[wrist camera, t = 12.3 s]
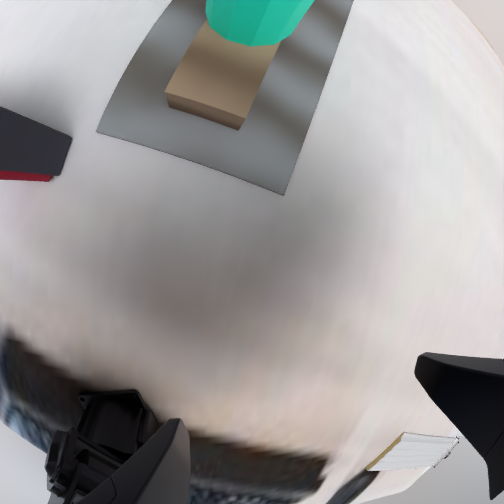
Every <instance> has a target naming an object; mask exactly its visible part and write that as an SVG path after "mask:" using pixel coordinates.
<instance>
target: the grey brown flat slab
mask: <svg viewBox="0 0 504 504" xmlns="http://www.w3.org/2000/svg"><path fill="white" fill-rule="evenodd" d="M353 1H354V0H314V2H313V3H312V5H311V6H310V7H309V9H308V10H307V12H306V13H305V14H304V16H303V17H302V19H301V20H300V22H299V23H298V25H297V26H296V28H295V29H294V31H293V32H292V34H291V35H290V36H288V37H286V38H285V39H283V40H281V41H280V42H278V43H276V44H275V45H262V46H247V45H244V44H240V43H236V42H232V41H228V40H226V39H225V38H223V37H222V36H221V35H220V34H218V33H217V32H216V31H214V30H213V29H212V28H210V26H209V22H208V19H207V16H206V12H205V10H206V0H172V2H171V3H170V4H169V5H168V7H167V8H166V9H165V11H164V12H163V13H162V15H161V16H160V17H159V19H158V20H157V21H156V23H155V24H154V26H153V27H152V28H151V30H150V31H149V33H148V34H147V36H146V37H145V39H144V40H143V42H142V43H141V45H140V47H139V48H138V50H137V51H136V53H135V55H134V56H133V58H132V60H131V61H130V63H129V65H128V66H127V68H126V70H125V72H124V74H123V75H122V77H121V79H120V81H119V83H118V85H117V87H116V89H115V91H114V93H113V95H112V97H111V99H110V101H109V103H108V105H107V107H106V109H105V111H104V114H103V116H102V118H101V120H100V123H99V125H98V127H97V130H96V132H97V133H101V134H105V135H108V136H112V137H116V138H119V139H123V140H126V141H130V142H133V143H136V144H140V145H143V146H146V147H150V148H153V149H156V150H159V151H163V152H166V153H169V154H172V155H175V156H178V157H181V158H184V159H187V160H190V161H193V162H196V163H199V164H202V165H204V166H207V167H210V168H213V169H216V170H218V171H221V172H224V173H227V174H229V175H232V176H235V177H237V178H240V179H243V180H245V181H248V182H251V183H253V184H256V185H258V186H261V187H263V188H266V189H268V190H271V191H273V192H276V193H278V194H281V195H284V194H285V191H286V189H287V186H288V183H289V181H290V178H291V175H292V172H293V170H294V167H295V164H296V162H297V159H298V156H299V153H300V151H301V148H302V145H303V142H304V140H305V137H306V134H307V131H308V129H309V126H310V123H311V120H312V118H313V115H314V112H315V109H316V106H317V104H318V101H319V98H320V95H321V93H322V90H323V87H324V84H325V81H326V78H327V76H328V73H329V70H330V67H331V64H332V61H333V59H334V56H335V53H336V50H337V47H338V44H339V42H340V39H341V36H342V33H343V30H344V27H345V24H346V21H347V18H348V15H349V13H350V10H351V7H352V4H353Z"/></svg>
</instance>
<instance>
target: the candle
mask: <svg viewBox="0 0 504 504" xmlns="http://www.w3.org/2000/svg"><path fill="white" fill-rule="evenodd" d="M313 2H314V0H206V10H205V12H206V16H207V19H208V22H209V26H210V28H212V29H213V30H214V31H216V32H217V33H218V34H220V35H221V36H222V37H223V38H225V39H226V40H228V41H232V42H236V43H240V44H244V45H247V46H262V45H275V44H276V43H278V42H280V41H281V40H283V39H285V38H286V37H288V36H290V35H291V34H292V32H293V31H294V29H295V28H296V26H297V25H298V23H299V22H300V20H301V19H302V17H303V16H304V14H305V13H306V12H307V10H308V9H309V7H310V6H311V5H312V3H313Z"/></svg>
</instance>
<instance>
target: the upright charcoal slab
mask: <svg viewBox="0 0 504 504" xmlns="http://www.w3.org/2000/svg"><path fill="white" fill-rule="evenodd" d="M71 139H72V138H71V137H70V136H68V135H66V134H64V133H61V132H59V131H57V130H55V129H52V128H50V127H48V126H45V125H43V124H41V123H39V122H36V121H34V120H31V119H29V118H27V117H24V116H22V115H20V114H17V113H15V112H12V111H10V110H8V109H5V108H3V107H0V180H25V181H44V182H49V181H50V178H51V175H54V176H58V175H59V174H60V171H61V168H62V165H63V162H64V159H65V156H66V153H67V150H68V147H69V145H70V142H71Z"/></svg>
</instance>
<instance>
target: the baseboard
mask: <svg viewBox="0 0 504 504" xmlns="http://www.w3.org/2000/svg"><path fill="white" fill-rule="evenodd" d="M456 438H457V436H456ZM456 438H450V437H439V436H429V435H421V434H414V433H407V432H403V433H402V434H401V435H400V436H399V437H398V438H397V439H396V440H395V441H394V442H393V443H392V444H391V445H390V446H389V447H388V448H387V449H386V450H385V451H384V452H383V453H382V454H380V455H379V456H378V457H377V458H376V459H375V460H374V461H373V462H372V463H370V464H369V465H368V466H367V467H366V469H367V471H381V470H398V469H410V468H419V467H427V466H433V464H435V463H436V462H437V461H438V460H439V458H440V457H441V456H443V455H444V453H445V452H446V451H448V449H449V448H450V447H451V446H452V445H453V444H454V441H455V439H456ZM458 439H459V438H458ZM458 443H459V442H458ZM449 454H450V453H449ZM447 457H448V456H446V457H445V458H447Z"/></svg>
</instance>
